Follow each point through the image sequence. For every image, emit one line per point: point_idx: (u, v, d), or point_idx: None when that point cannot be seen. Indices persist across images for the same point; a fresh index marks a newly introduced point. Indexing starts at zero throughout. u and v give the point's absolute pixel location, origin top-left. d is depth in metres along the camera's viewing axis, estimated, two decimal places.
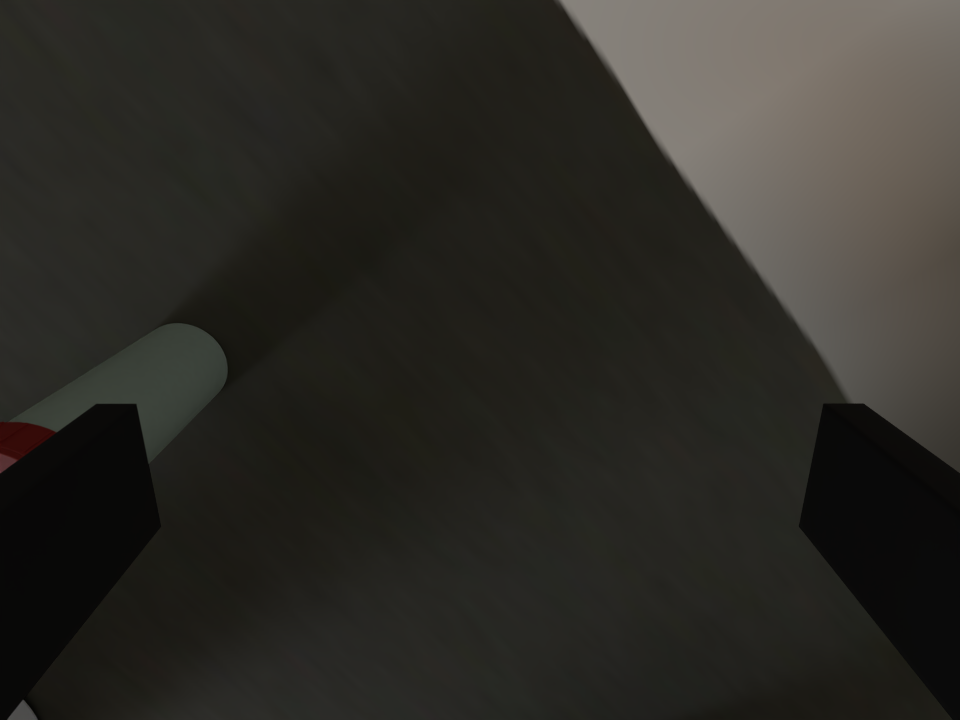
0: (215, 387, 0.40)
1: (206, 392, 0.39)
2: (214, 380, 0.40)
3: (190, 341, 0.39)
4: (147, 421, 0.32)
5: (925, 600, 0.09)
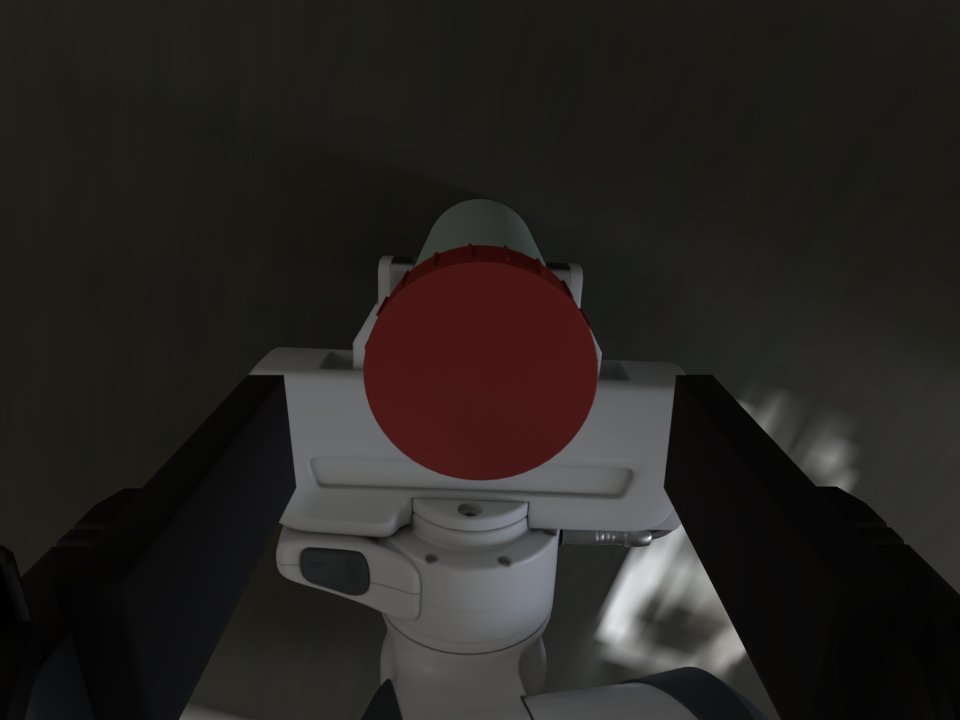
0: (462, 206, 0.30)
1: (456, 211, 0.29)
2: (449, 212, 0.30)
3: None
4: (420, 257, 0.23)
5: (726, 538, 0.11)
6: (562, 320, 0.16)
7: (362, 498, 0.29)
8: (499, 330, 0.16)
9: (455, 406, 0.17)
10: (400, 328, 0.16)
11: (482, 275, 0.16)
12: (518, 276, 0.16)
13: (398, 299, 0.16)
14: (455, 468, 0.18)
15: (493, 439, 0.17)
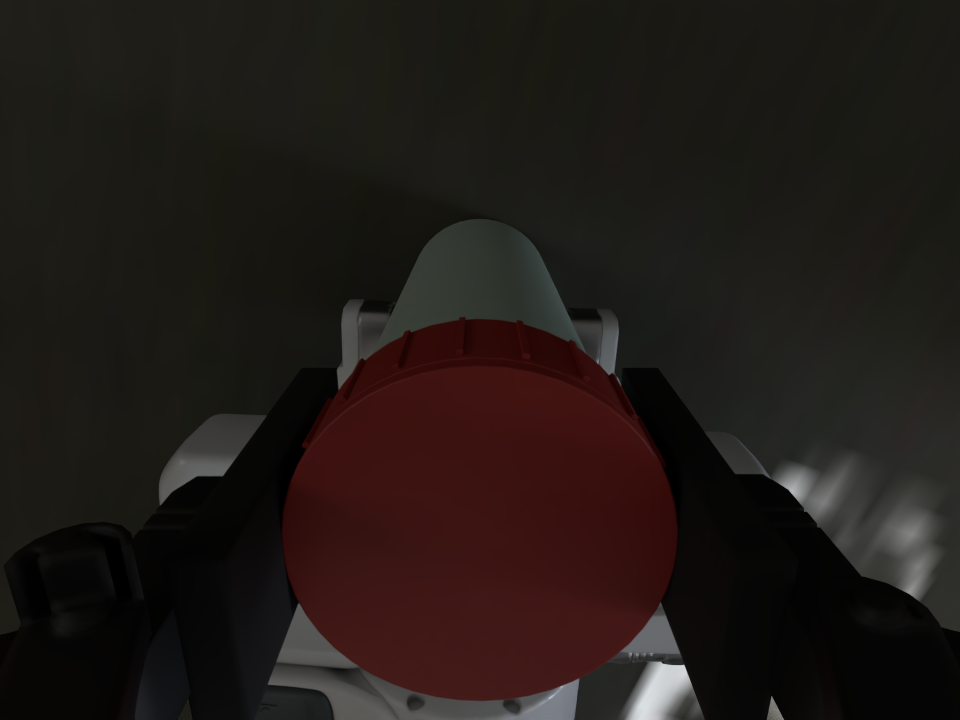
0: (456, 229, 0.24)
1: (448, 238, 0.22)
2: (440, 238, 0.23)
3: None
4: (395, 313, 0.16)
5: None
6: (620, 461, 0.09)
7: None
8: (511, 477, 0.10)
9: (437, 594, 0.10)
10: (341, 474, 0.10)
11: (482, 389, 0.09)
12: (545, 390, 0.09)
13: (335, 428, 0.09)
14: (438, 684, 0.11)
15: (500, 642, 0.11)
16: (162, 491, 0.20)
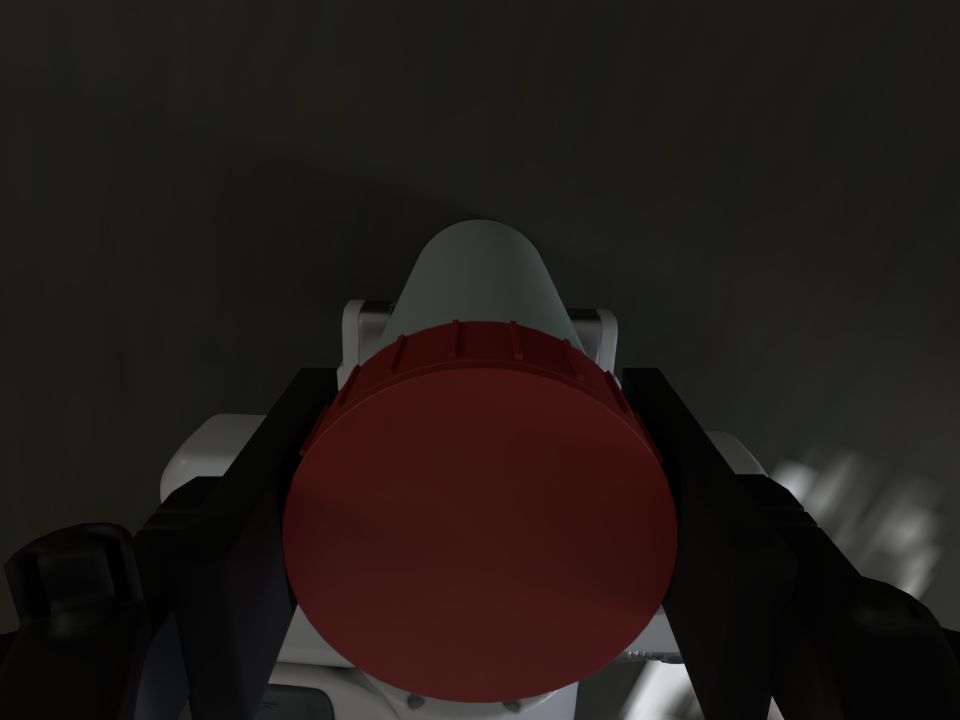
0: (456, 230, 0.24)
1: (447, 239, 0.22)
2: (440, 238, 0.23)
3: None
4: (395, 313, 0.16)
5: None
6: (365, 437, 0.09)
7: None
8: (393, 530, 0.10)
9: (532, 587, 0.10)
10: (402, 659, 0.11)
11: (304, 557, 0.10)
12: (297, 508, 0.10)
13: (356, 662, 0.11)
14: (650, 586, 0.10)
15: (595, 531, 0.10)
16: (163, 490, 0.20)
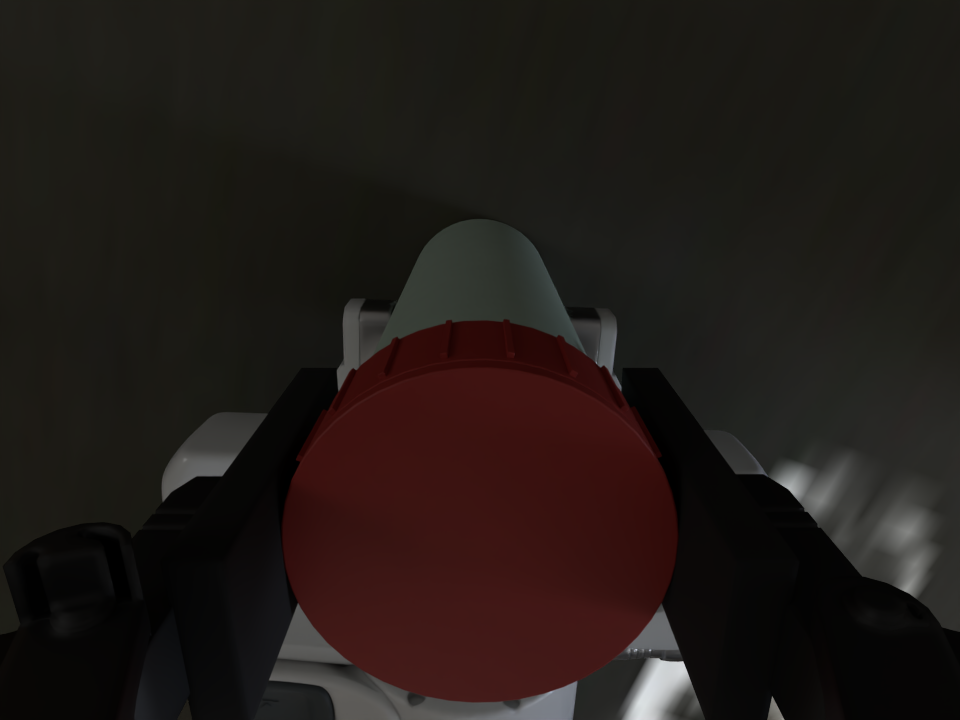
0: (456, 229, 0.24)
1: (448, 238, 0.23)
2: (440, 238, 0.24)
3: None
4: (396, 312, 0.16)
5: None
6: (361, 641, 0.11)
7: None
8: (456, 622, 0.10)
9: (520, 505, 0.10)
10: (612, 616, 0.10)
11: (489, 688, 0.11)
12: (437, 689, 0.11)
13: (613, 654, 0.11)
14: (515, 392, 0.09)
15: (447, 453, 0.09)
16: (165, 488, 0.20)
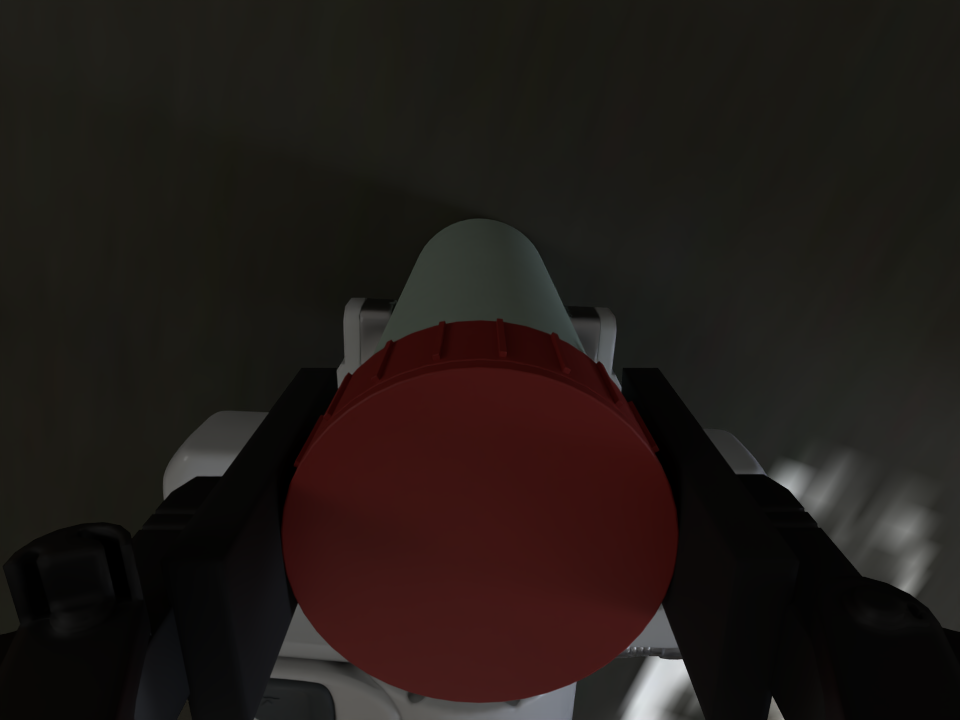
0: (456, 229, 0.24)
1: (448, 237, 0.23)
2: (440, 237, 0.24)
3: None
4: (396, 310, 0.17)
5: None
6: (588, 648, 0.11)
7: None
8: (566, 570, 0.10)
9: (422, 521, 0.10)
10: (558, 426, 0.09)
11: (657, 539, 0.10)
12: (656, 586, 0.10)
13: (612, 420, 0.09)
14: (301, 532, 0.10)
15: (370, 582, 0.10)
16: (166, 486, 0.21)
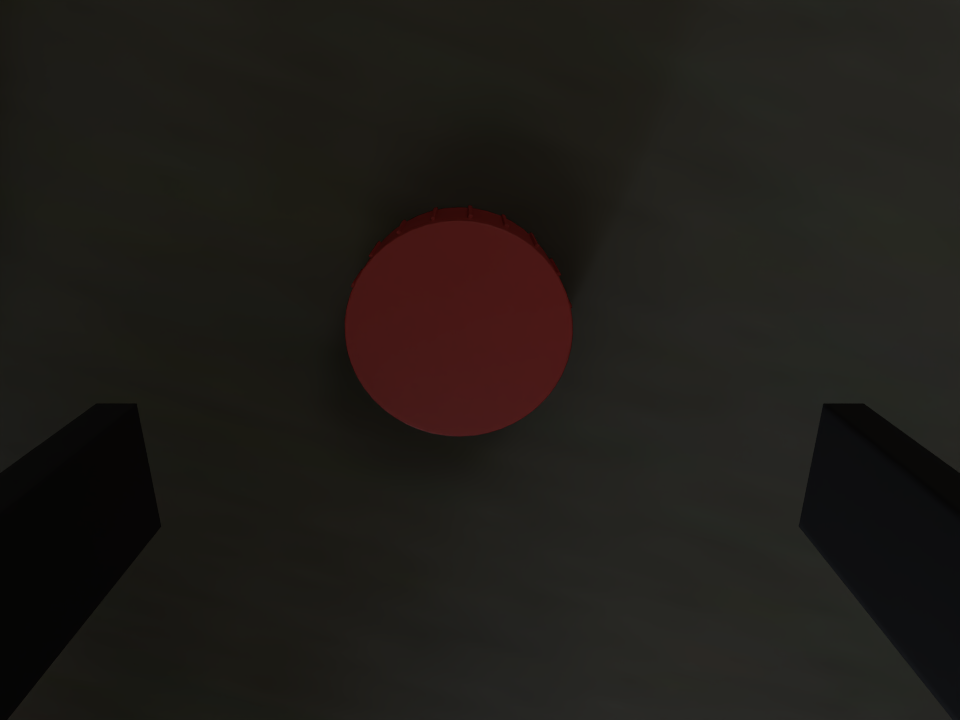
0: None
1: None
2: None
3: None
4: None
5: (925, 600, 0.09)
6: (524, 398, 0.18)
7: None
8: (509, 346, 0.18)
9: (425, 315, 0.17)
10: (501, 255, 0.17)
11: (560, 325, 0.17)
12: (561, 355, 0.18)
13: (531, 251, 0.17)
14: (356, 323, 0.17)
15: (396, 355, 0.18)
16: None
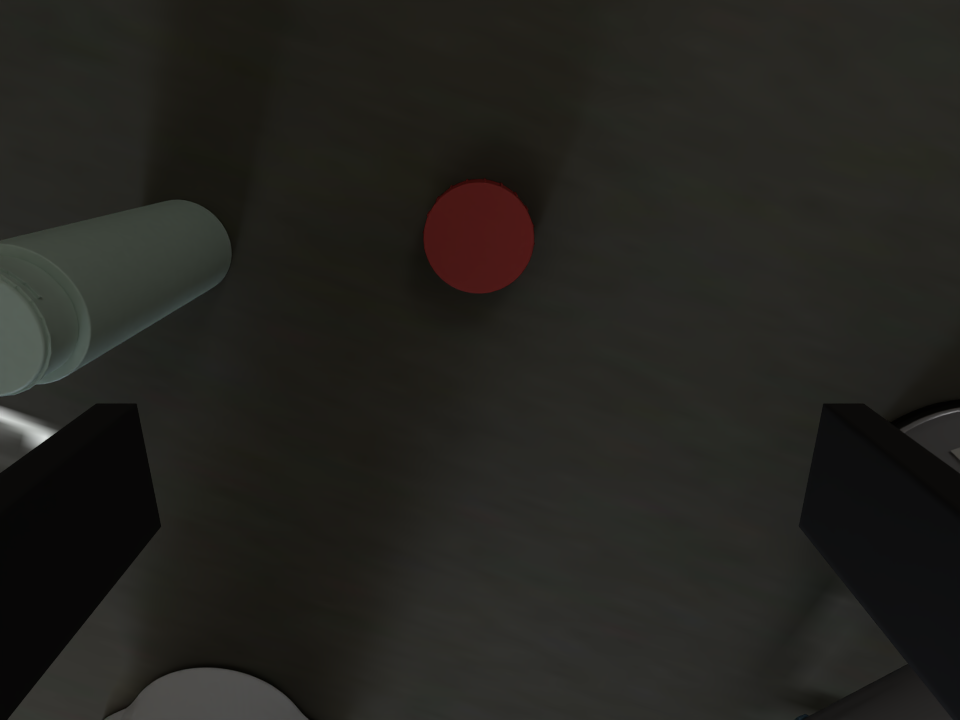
0: (215, 240, 0.36)
1: (203, 240, 0.35)
2: (206, 231, 0.36)
3: (162, 204, 0.35)
4: (120, 241, 0.28)
5: (925, 600, 0.09)
6: (510, 272, 0.36)
7: None
8: (503, 245, 0.36)
9: (462, 229, 0.36)
10: (499, 199, 0.35)
11: (527, 234, 0.36)
12: (528, 250, 0.36)
13: (513, 197, 0.35)
14: (429, 232, 0.36)
15: (447, 249, 0.36)
16: None
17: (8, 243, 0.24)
